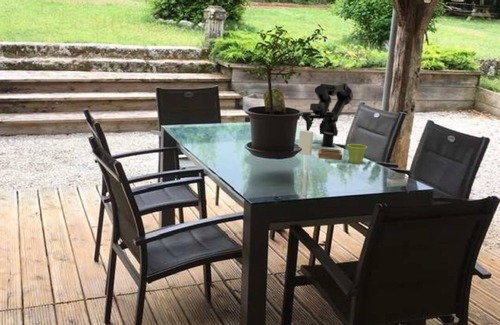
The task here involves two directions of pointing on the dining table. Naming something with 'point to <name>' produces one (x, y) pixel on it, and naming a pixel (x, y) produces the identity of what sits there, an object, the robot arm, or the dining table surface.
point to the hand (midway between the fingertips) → (315, 131)
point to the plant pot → (356, 153)
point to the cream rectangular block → (306, 141)
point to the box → (330, 154)
